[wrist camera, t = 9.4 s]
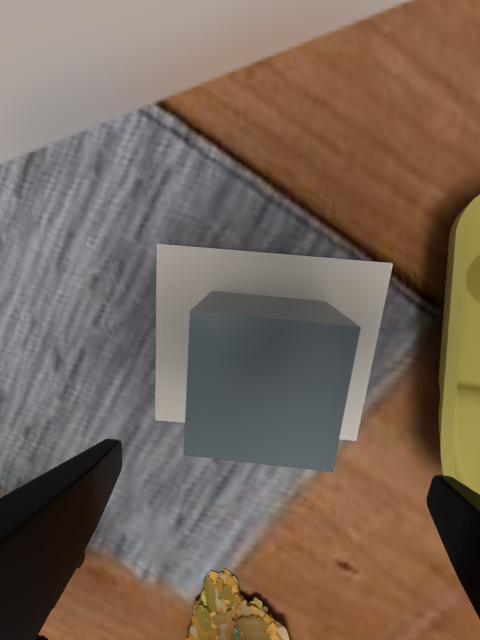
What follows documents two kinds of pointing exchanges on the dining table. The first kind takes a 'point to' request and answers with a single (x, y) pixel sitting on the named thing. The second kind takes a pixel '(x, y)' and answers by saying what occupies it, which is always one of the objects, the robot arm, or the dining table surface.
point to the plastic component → (461, 352)
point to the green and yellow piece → (231, 614)
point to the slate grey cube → (267, 379)
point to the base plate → (268, 280)
